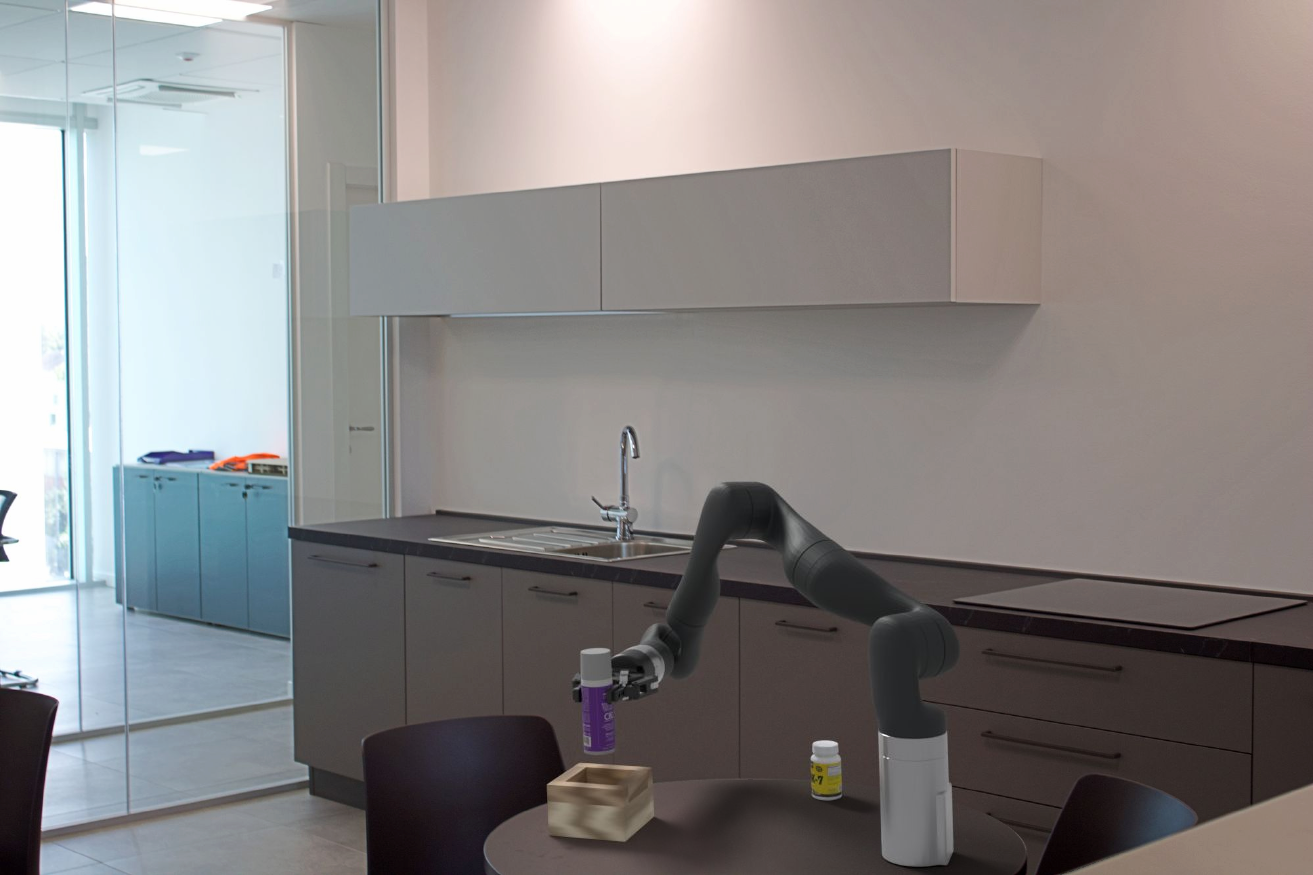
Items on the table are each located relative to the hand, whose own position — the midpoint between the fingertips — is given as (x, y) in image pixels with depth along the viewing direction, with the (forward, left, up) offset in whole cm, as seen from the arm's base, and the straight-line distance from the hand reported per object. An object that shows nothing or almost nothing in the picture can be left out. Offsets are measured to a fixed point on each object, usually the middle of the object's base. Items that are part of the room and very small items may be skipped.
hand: (593, 696), depth 204 cm
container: (0, -2, -9) cm, 9 cm away
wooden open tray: (0, -2, -20) cm, 20 cm away
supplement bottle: (-29, -24, -20) cm, 42 cm away
